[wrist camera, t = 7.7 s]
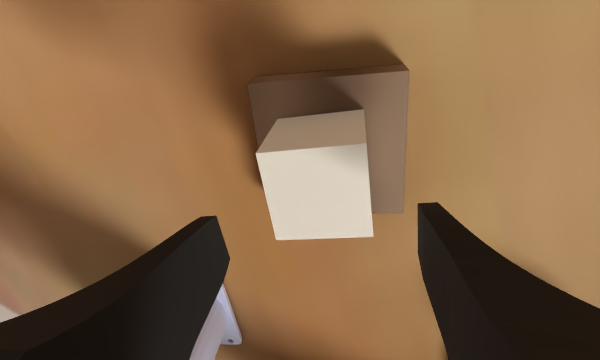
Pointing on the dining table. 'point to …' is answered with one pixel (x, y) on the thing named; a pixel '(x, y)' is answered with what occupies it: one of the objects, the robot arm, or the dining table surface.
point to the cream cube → (317, 176)
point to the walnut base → (346, 97)
